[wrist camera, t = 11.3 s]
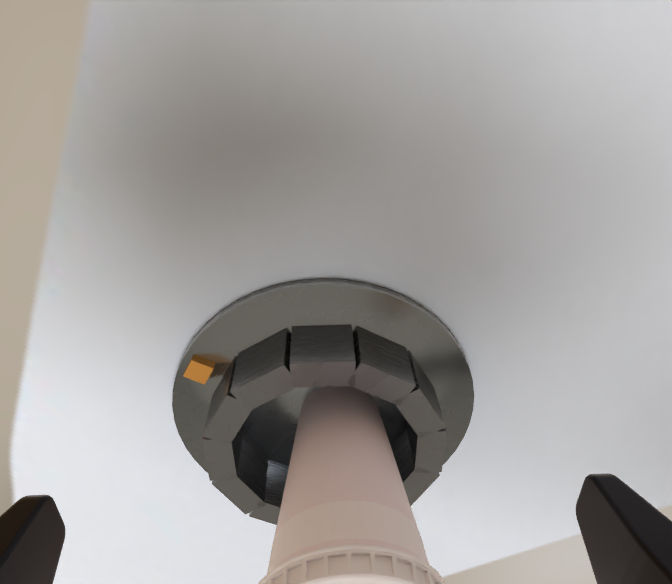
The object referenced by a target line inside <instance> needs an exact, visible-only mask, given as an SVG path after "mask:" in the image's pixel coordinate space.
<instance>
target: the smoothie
mask: <svg viewBox="0 0 672 584" xmlns="http://www.w3.org/2000/svg"><path fill="white" fill-rule="evenodd" d="M259 584H445V583H444V581H443V579H442V578H441V576H440V574H439V573H438V571H436V570H435V569H434V568H433V567H431V566H430V565H429V562H428V559H427V556H426V553H425V549H424V546H423V543H422V539H421V536H420V533H419V531H418V528H417V525H416V522H415V519H414V516H413V513H412V510H411V507H410V504H409V501H408V497H407V494H406V491H405V488H404V485H403V482H402V479H401V476H400V473H399V470H398V467H397V464H396V461H395V458H394V455H393V452H392V448H391V445H390V442H389V439H388V436H387V433H386V430H385V427H384V424H383V421H382V418H381V415H380V412H379V409H378V406H377V403H376V401H375V399H374V398H373V397H372V396H371V395H370V394H369V393H366V392H364V391H361V390H359V389H356V388H354V387H351V386H333V387H322V388H320V389H318V390H316V391H314V392H313V393H312V394H310V395H309V396H308V397H307V398H306V399H305V401H304V402H303V404H302V407H301V410H300V415H299V420H298V425H297V430H296V434H295V439H294V444H293V449H292V454H291V459H290V464H289V469H288V474H287V478H286V483H285V488H284V493H283V498H282V503H281V508H280V513H279V518H278V523H277V527H276V532H275V537H274V541H273V545H272V551H271V556H270V561H269V567H268V572H267V575H266V576H265V577H264V578H263V579H261V581H260V582H259Z"/></svg>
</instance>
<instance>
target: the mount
mask: <svg viewBox="0 0 672 584" xmlns="http://www.w3.org/2000/svg"><path fill="white" fill-rule="evenodd" d="M333 386H351V387H354V388H356V389H359V390H361V391H364V392H366V393H369V394H370V395H371V396H372V397H373V398H374V399H375V401H376V403H377V406H378V409H379V412H380V415H381V418H382V421H383V424H384V427H385V430H386V433H387V436H388V439H389V442H390V445H391V448H392V452H393V455H394V458H395V461H396V464H397V467H398V470H399V473H400V476H401V479H402V482H403V485H404V488H405V491H406V494H407V497H408V501H409V504H410V506H411V505H412V504H413V503H414V502H415V501H416V500H417V499H418V498H419V497H420V496H421V495H422V493H423V492H424V491H425V490H426V489H427V488H428V487H429V486H430V485H431V484H432V483H433V482H434V481H435V480H436V479H437V478H438V477H439V472H441V471H442V465H443V464H444V463H445V462H446V461H447V460H448V459H449V458H450V456H451V455H452V454H453V453H454V452H455V450H456V449H457V447H458V446H459V444H460V442H461V441H462V439H463V437H464V435H465V433H466V430H467V428H468V426H469V423H470V419H471V415H472V411H473V401H474V391H473V381H472V377H471V373H470V370H469V366H468V364H467V361H466V359H465V356H464V354H463V352H462V350H461V348H460V346H459V344H458V342H457V341H456V339H455V338H454V337H453V335H452V334H451V332H450V331H449V329H448V328H447V327H446V326H445V325H444V324H443V323H442V322H441V321H440V320H439V319H438V318H437V317H436V316H435V315H433V314H432V313H431V312H429V311H428V310H427V309H425V308H424V307H423V306H421V305H420V304H418V303H416V302H414V301H413V300H411V299H409V298H407V297H406V296H404V295H401V294H399V293H396V292H394V291H391V290H389V289H386V288H383V287H380V286H376V285H372V284H368V283H365V282H358V281H351V280H344V279H310V280H299V281H293V282H289V283H284V284H279V285H275V286H272V287H269V288H266V289H263V290H260V291H257V292H254V293H252V294H250V295H248V296H246V297H244V298H242V299H239V300H237V301H236V302H234V303H233V304H231V305H230V306H228V307H226V308H225V309H223V310H222V311H220V312H219V313H218V314H217V315H216V316H214V317H213V318H212V319H211V320H210V321H209V322H207V323H206V324H205V325H204V327H203V328H202V329H201V330H200V331H199V332H198V334H197V335H196V336H195V337H194V339H193V340H192V342H191V343H190V345H189V347H188V348H187V350H186V351H185V354H184V356H183V359H182V361H181V363H180V366H179V369H178V371H177V374H176V379H175V383H174V388H173V402H172V406H173V413H174V420H175V423H176V426H177V429H178V433H179V435H180V437H181V439H182V441H183V443H184V445H185V447H186V448H187V450H188V451H189V452H190V454H191V455H192V457H193V458H194V459H195V460H196V461H197V463H198V464H199V465H200V466H201V467H202V468H203V469H204V470H205V471H206V472H208V473H209V478H210V481H212V480H213V481H212V484H213V485H214V486H215V487H216V488H217V489H218V490H219V491H220V492H221V493H223V494H224V495H225V496H226V497H227V498H228V499H229V500H230V501H231V502H232V503H234V504H235V505H236V506H237V507H238V508H239V509H240V510H241V511H242V512H243V513H245V514H247V513H249V512H250V514H249V516H250V517H253V518H256V519H259V520H263V521H266V522H269V523H272V524H275V525H277V523H278V518H279V513H280V508H281V503H282V498H283V493H284V488H285V483H286V478H287V474H288V469H289V464H290V459H291V454H292V449H293V444H294V439H295V434H296V430H297V425H298V420H299V415H300V410H301V407H302V404H303V402H304V401H305V399H306V398H307V397H308V396H309V395H310V394H312V393H313V392H314V391H316V390H318V389H320V388H322V387H333Z"/></svg>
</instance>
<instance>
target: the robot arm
mask: <svg viewBox="0 0 672 584" xmlns="http://www.w3.org/2000/svg"><path fill="white" fill-rule="evenodd" d="M576 516H577V520H578V524H579V527H580V530H581V533H582V536H583V540H584V543H585V546H586V549H587V552H588V556H589V559H590V561H591V565H592V569H593V572H594V575H595V578H596V581H597V584H672V521H671V520H669V519H668V518H667V517H666V516H664V515H663V514H662V513H661V512H659V511H658V510H657V509H656V508H655V507H653V506H652V505H651V504H650V503H648V502H647V501H646V500H645V499H644V498H642V497H641V496H640V495H639V494H637V493H636V492H635V491H634V490H632V489H631V488H630V487H629V486H628V485H626V484H625V483H624V482H623V481H621V480H620V479H619V478H618V477H616V476H614V475H612V474H590V475H588V476H587V477H586V478H585V480H584V483H583V486H582V489H581V492H580V495H579V498H578V501H577V504H576ZM64 539H65V526H64V523H63V520H62V518H61V516H60V513H59V511H58V509H57V507H56V504H55V502H54V500H53V498H52V497H50V496H49V495H30V496H25V497H23V498H21V499H20V500H18V501H17V502H16V503H15V504H14V505H12V506H11V507H10V508H9V509H8V510H7V511H6V512H5V513H4V514H2V515H1V516H0V584H53V580H54V577H55V573H56V569H57V565H58V562H59V558H60V554H61V550H62V547H63V543H64Z"/></svg>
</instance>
